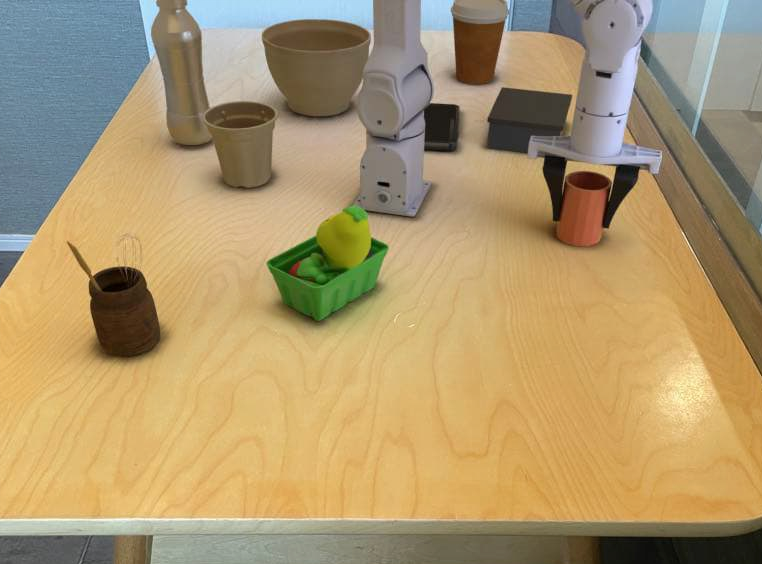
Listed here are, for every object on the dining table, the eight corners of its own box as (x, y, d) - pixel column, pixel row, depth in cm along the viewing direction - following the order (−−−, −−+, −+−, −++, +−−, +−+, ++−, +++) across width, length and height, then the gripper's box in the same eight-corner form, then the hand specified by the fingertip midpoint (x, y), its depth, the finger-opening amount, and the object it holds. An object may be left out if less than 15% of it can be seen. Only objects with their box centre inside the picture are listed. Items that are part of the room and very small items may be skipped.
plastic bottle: (207, 152, 114) (185, -2, 101) (162, 148, 115) (134, -6, 102) (223, 134, 119) (204, -15, 106) (180, 130, 120) (155, -19, 107)
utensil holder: (173, 341, 80) (151, 232, 72) (115, 368, 77) (86, 257, 69) (142, 316, 84) (118, 209, 76) (85, 340, 80) (54, 231, 72)
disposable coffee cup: (437, 72, 140) (440, -3, 132) (485, 65, 143) (491, -9, 136) (463, 91, 134) (468, 12, 126) (513, 83, 137) (521, 6, 129)
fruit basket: (339, 262, 92) (336, 168, 85) (400, 290, 88) (402, 193, 81) (266, 305, 85) (256, 206, 78) (328, 337, 81) (323, 236, 74)
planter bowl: (360, 130, 121) (359, 54, 114) (255, 122, 123) (247, 46, 115) (379, 92, 133) (379, 21, 126) (283, 85, 135) (278, 14, 127)
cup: (599, 249, 95) (610, 194, 91) (553, 242, 96) (562, 187, 92) (602, 228, 99) (613, 174, 95) (558, 222, 100) (567, 168, 96)
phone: (401, 141, 115) (409, 101, 126) (401, 148, 116) (409, 109, 127) (457, 143, 115) (460, 104, 126) (457, 151, 115) (460, 111, 127)
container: (558, 157, 115) (563, 126, 112) (484, 148, 116) (487, 117, 114) (567, 124, 124) (572, 94, 121) (498, 116, 126) (501, 86, 123)
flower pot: (196, 184, 106) (186, 119, 101) (239, 158, 113) (232, 95, 107) (255, 201, 103) (248, 134, 98) (296, 172, 110) (292, 109, 104)
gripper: (671, 101, 89) (644, 213, 98) (539, 87, 92) (525, 198, 101) (671, 125, 84) (643, 241, 93) (531, 109, 87) (517, 224, 96)
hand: (581, 221), depth 96 cm, fingers closed on cup, 5 cm apart
